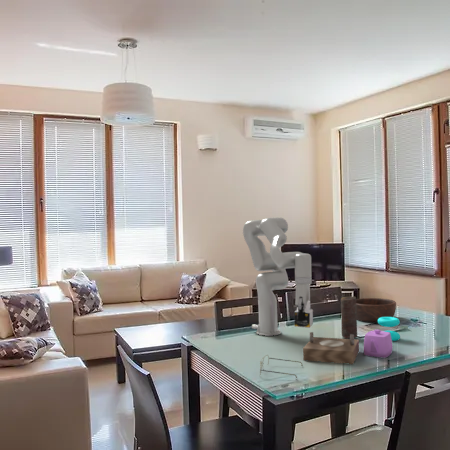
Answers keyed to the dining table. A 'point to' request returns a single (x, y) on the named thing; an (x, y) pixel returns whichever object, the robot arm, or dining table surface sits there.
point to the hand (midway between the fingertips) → (303, 318)
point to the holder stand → (331, 349)
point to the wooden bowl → (374, 309)
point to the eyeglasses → (273, 371)
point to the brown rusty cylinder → (348, 317)
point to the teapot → (378, 343)
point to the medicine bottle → (308, 317)
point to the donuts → (390, 323)
